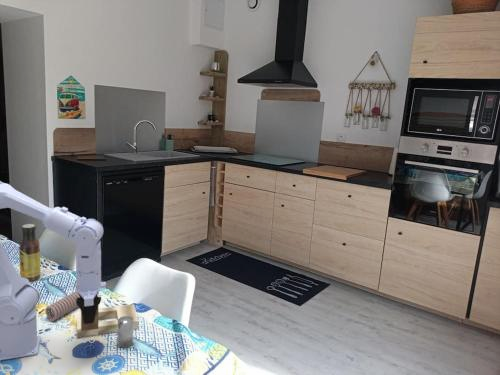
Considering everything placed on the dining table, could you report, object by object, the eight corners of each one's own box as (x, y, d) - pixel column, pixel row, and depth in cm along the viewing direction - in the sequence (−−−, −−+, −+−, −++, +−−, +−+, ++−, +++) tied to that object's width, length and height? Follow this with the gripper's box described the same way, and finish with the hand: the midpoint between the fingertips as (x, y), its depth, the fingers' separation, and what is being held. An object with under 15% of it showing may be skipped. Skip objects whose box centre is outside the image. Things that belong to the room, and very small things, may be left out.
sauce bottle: (21, 275, 136) (19, 222, 132) (41, 273, 139) (39, 221, 135) (19, 283, 130) (16, 228, 126) (40, 281, 133) (38, 227, 129)
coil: (55, 310, 108) (99, 285, 125) (42, 305, 109) (88, 280, 126) (54, 324, 109) (98, 297, 126) (42, 319, 110) (87, 293, 127)
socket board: (77, 338, 103) (77, 329, 102) (78, 318, 112) (77, 311, 111) (137, 328, 109) (137, 321, 109) (134, 311, 118) (134, 304, 118)
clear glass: (117, 349, 100) (118, 325, 98) (116, 340, 103) (117, 317, 102) (133, 346, 101) (134, 322, 100) (132, 338, 105) (132, 315, 104)
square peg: (81, 331, 95) (81, 305, 94) (81, 322, 99) (81, 297, 97) (98, 328, 97) (98, 303, 95) (97, 320, 100) (98, 296, 99)
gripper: (107, 279, 90) (106, 331, 92) (104, 256, 103) (104, 302, 105) (74, 282, 87) (75, 335, 89) (76, 258, 100) (76, 305, 102)
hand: (89, 318), depth 97 cm, fingers closed on square peg, 4 cm apart
